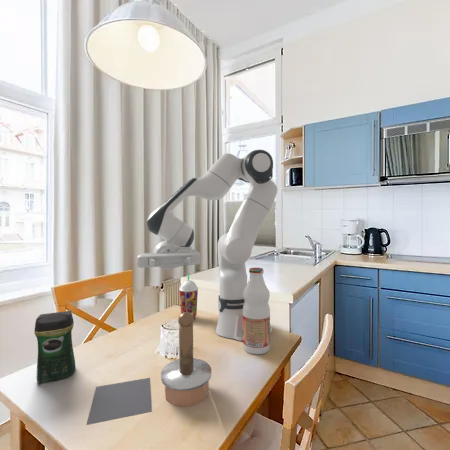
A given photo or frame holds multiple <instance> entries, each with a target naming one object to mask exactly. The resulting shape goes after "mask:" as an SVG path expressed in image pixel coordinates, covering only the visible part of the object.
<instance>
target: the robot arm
mask: <svg viewBox="0 0 450 450" xmlns="http://www.w3.org/2000/svg"><path fill="white" fill-rule="evenodd" d="M273 170H274V160H273V157H272V155H271V154H270V152H269V151H266V150H265V149H254V150H252V151H250V152H249V153H248V154H246V155H245V156H244V157H243V158H240V157H238V156H236V155H234V154H231V153H224V154H222V155H221V156H220V157H219V158H218V159H216V161H215V162H214V163H213V164H212V165H211V166H210V167H209V168H208V170H207V171H206V172H205V174H204V175H202V176H200V177H198V178H196V177H192V178H191V179H189V180H188V181H186V182H185V183H184V184H183V185H182V186H180V187H179V188H178V190H176V191H175V192H174V193H173V194H172V195H171V196H170V197H169V198H168V199H167V200H166V201H165V202H164V203H163V204H162V205H161V206H159V207H158V208H156V209H154V210H153V212H151V213H150V214H149V215H148V217H147V220H146V227H147V229H148V231H149V232H150V233H152V234H154V235H155V236H158V237H160V238H161V239H163V240H162V241H160V242H158V243H157V244H155V247H154V248H153V252H147V253H146V252H144V253H139V254H138V255H137V256H136V265H137V266H136V267H137V268H143V269H144V268H158V267H159V268H160V269H162V270H166V271H167V270H173V269H176V268H180V267H185V266H186V267H187V266H193V265H200V264H201V259H202V258H201V253H200V252H199V251H198V250H195V249H193V247H192V244H193V242H194V239H195V231H194V228H193V227H191V226H190V225H189V224H187V223H186V222H184V221H183V220H182V219H180V218H178V217H177V216H176V215H174V214H173V213H172V212H173V210H174V209H175V208H176V207H178V205H180V203H182V202H183V201H184V200H185V199H186V198H188V197H197V198H201V199H205V200H208V201H218V200H221V199H223V198H224V197H225V196H226V195H227V194H228V192H229V191H230V189H231V188H232V187H233V185H234V184H235V183H236V181H237V180H240V181H243V182H244V183H249V189H248V192H247V194H246V196H245V197H244V199H243V201H242V202H241V205H240V206H239V207H238V210H237V212H236V214H235V215H234V218H233V221H232V223H231V226H230V227H229V230H228V232H225V233H224V234H222V235H221V236H220V237H219V239H218V241H217V261H218V272H219V273H218V274H219V277H218V279H219V295H218V300H217V308H218V317H217V319H218V320H217V323H216V324H217V325H216V328H215V332H216V334H217V335H219V336H220V337H223V338H225V339H227V338H228V339H233V340H235V341H239V342H241V341H242V342H243V305H244V297H243V291H244V289H245V287H246V286H247V284H248V274H247V269H246V268H247V267H246V262H247V261H248V260H249V259H250V258H251V255H252V252H253V251H252V250H253V248H254V245H255V243H256V241H257V237H258V234H259V232H260V230H261V228H262V225H263V223H264V222H265V220H266V218H267V216H268V214H269V212H270V210H271V209H272V206H273V204H274V203H275V199H276V196H277V193H278V186H277V184H276V183H275V182H274V181H273V180H272V179H273ZM272 333H273V328H272V326H271V325H270V334H272Z"/></svg>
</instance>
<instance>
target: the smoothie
mask: <svg viewBox="0 0 450 450" xmlns="http://www.w3.org/2000/svg"><path fill="white" fill-rule="evenodd" d="M178 291H179V293H178V294H179V304H180V308H179V309H180V315H181V314H182V313H184V312H189V313H191V314H192V316H193V318H194V320H196V317H197V311H198V310H197V309H198V295H199V294H198V293H199V287H198V286H197V284H196V283H195V281H193V280H190V274H189V273H187V279H186V280H185V281H183V282H182V283H181V284H180V286H179V289H178Z"/></svg>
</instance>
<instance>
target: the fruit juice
mask: <svg viewBox="0 0 450 450" xmlns="http://www.w3.org/2000/svg"><path fill="white" fill-rule="evenodd" d="M248 272H249V273H248V274H249V278H248V280H247V286H246V287H245V289H244V291H243V297H244V305H243V341H242V348H243V350H244V351H245V352H246V353H248V354H252V355H264V354H266V353H268V352H269V351H270V348H271V333H270V326H271V308H270V304H269V300H270V290H269V289H268V287H267V285H266V281H265V280H264V276H263V275H264V268H263V267H250V268H248Z"/></svg>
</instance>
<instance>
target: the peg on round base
mask: <svg viewBox="0 0 450 450" xmlns="http://www.w3.org/2000/svg"><path fill="white" fill-rule="evenodd" d="M194 320H195V319H194V318H193V316H192V314H191V313H189V312H184V313H182V314H181V313H180V315H179V316H178V319H177V321H178V322H177V323H178V348H179V349H178V350H179V352H178V353H179V354H178V355H179V356H178V359H176V360H175V359H174V360H173V361H170V362H169V363H167V364H166V365H165V366H164V367H163V368H162V369H161V372H160V380H161V383H162V384H163V386H164V387H165V386H166V387H168V388H170V389H173V390H179V391H186V390H192V389H196V388H199V387H201V386H203V385H204V384H206V383H207V382H208V381H210V380H211V378H212V366H211V365H210V364H209V363H208V362H207V361H205V360H203V359H200V358H196V357H195V358H194V322H195V321H194Z"/></svg>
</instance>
